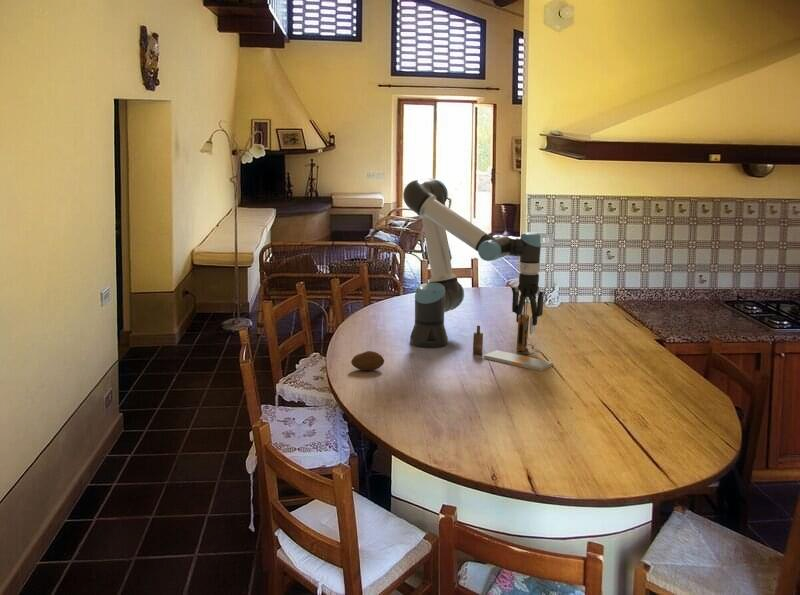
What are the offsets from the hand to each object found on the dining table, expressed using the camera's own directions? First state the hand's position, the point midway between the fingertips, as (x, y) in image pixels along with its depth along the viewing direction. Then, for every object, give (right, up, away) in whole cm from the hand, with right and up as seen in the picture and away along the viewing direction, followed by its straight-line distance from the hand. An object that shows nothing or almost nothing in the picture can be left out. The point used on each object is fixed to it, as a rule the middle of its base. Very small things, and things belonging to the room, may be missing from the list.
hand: (526, 331), depth 301 cm
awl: (-20, -8, -6) cm, 22 cm away
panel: (-6, -10, -16) cm, 20 cm away
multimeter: (+2, -7, -1) cm, 8 cm away
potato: (-61, -13, -28) cm, 68 cm away
